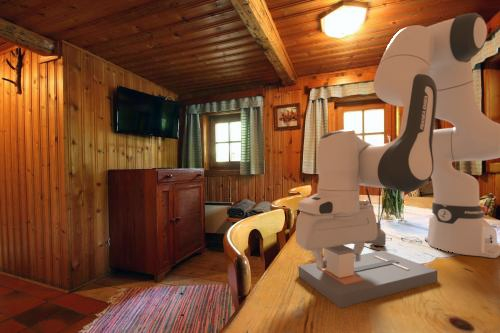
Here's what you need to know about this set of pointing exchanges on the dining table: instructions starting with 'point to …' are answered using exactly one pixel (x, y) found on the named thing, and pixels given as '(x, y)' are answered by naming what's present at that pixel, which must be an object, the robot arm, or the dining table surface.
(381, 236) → the reed diffuser
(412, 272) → the console board
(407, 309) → the dining table surface
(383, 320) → the dining table surface
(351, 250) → the fader knob
